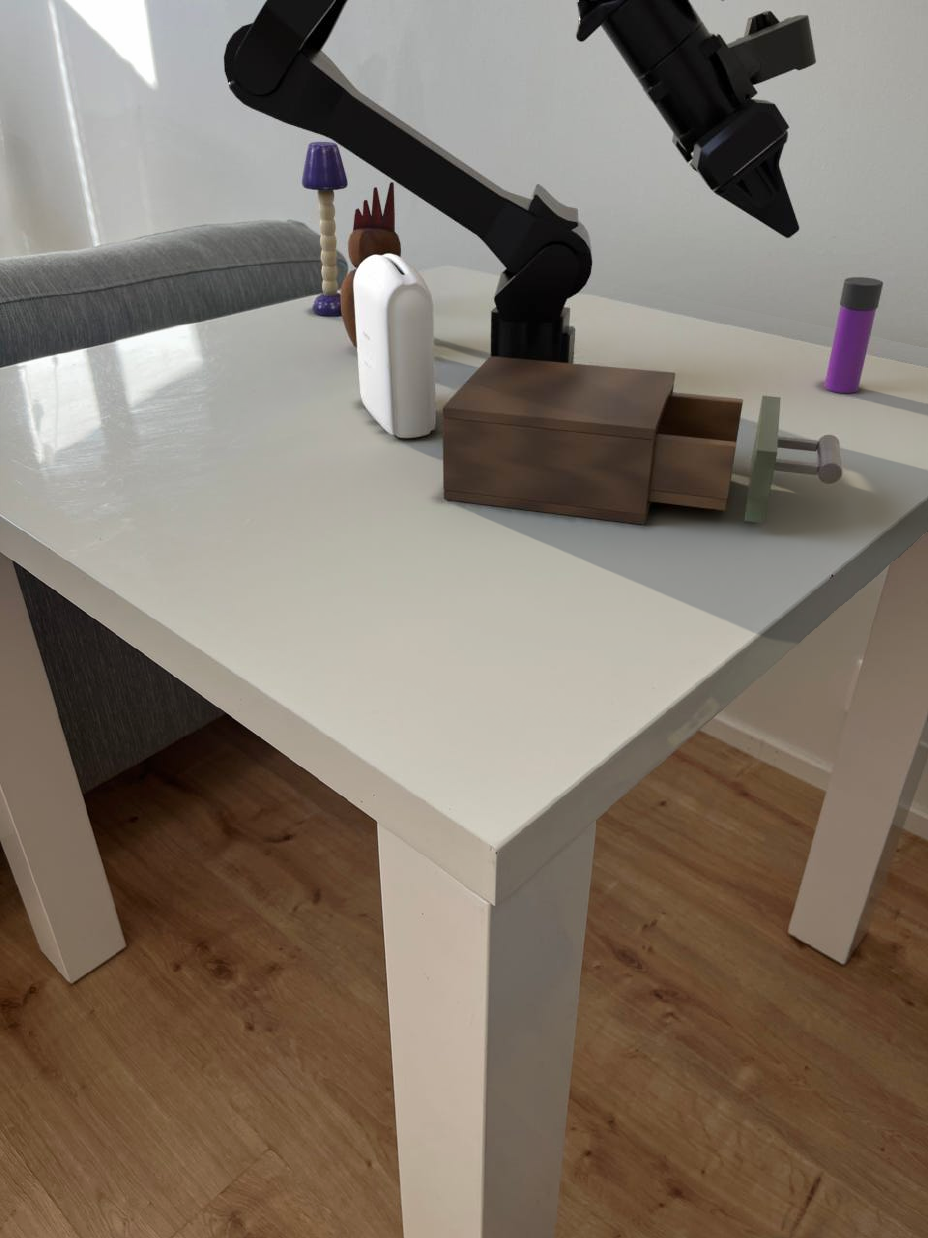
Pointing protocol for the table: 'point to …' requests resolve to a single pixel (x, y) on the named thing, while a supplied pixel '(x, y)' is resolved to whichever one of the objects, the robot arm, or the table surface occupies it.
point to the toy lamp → (326, 216)
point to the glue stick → (852, 333)
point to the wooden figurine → (368, 248)
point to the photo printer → (395, 345)
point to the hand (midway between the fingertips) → (781, 222)
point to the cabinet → (555, 438)
